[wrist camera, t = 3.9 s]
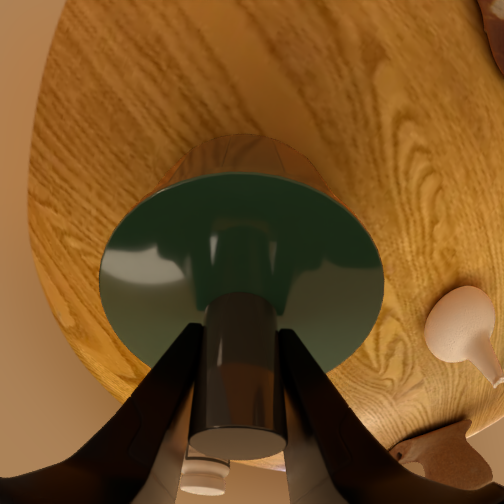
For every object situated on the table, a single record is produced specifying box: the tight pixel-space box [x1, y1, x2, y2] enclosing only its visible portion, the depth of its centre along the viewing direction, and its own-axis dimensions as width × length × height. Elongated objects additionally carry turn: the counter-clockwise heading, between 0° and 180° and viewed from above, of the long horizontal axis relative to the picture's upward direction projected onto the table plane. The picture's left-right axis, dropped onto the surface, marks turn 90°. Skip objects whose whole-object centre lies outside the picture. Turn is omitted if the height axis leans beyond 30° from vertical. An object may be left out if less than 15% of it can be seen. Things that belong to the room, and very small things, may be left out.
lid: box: [99, 166, 384, 460], centre depth 9 cm, size 10×10×6 cm
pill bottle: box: [180, 441, 230, 495], centre depth 24 cm, size 5×5×8 cm
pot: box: [153, 134, 334, 195], centre depth 13 cm, size 9×9×6 cm
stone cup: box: [389, 420, 493, 490], centre depth 29 cm, size 15×12×15 cm
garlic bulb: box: [424, 286, 504, 388], centre depth 17 cm, size 6×6×8 cm
